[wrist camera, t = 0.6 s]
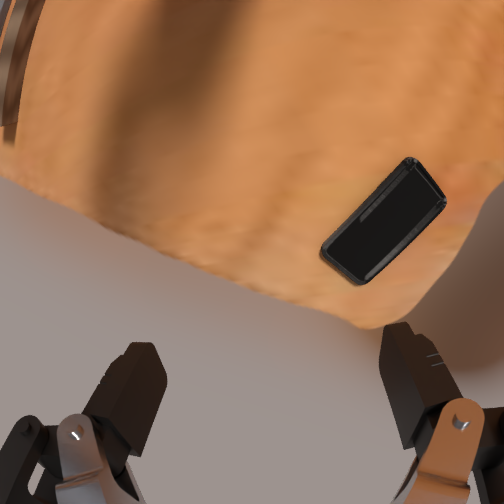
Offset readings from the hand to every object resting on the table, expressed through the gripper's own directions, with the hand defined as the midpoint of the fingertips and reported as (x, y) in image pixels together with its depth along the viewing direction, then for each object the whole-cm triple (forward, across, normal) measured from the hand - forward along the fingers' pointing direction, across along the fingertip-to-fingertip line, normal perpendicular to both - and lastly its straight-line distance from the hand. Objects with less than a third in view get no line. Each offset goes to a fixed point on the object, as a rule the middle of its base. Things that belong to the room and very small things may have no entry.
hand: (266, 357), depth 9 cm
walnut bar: (+20, +27, -27) cm, 43 cm away
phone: (+23, -12, +4) cm, 27 cm away
